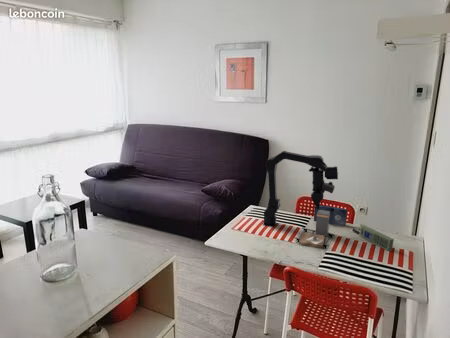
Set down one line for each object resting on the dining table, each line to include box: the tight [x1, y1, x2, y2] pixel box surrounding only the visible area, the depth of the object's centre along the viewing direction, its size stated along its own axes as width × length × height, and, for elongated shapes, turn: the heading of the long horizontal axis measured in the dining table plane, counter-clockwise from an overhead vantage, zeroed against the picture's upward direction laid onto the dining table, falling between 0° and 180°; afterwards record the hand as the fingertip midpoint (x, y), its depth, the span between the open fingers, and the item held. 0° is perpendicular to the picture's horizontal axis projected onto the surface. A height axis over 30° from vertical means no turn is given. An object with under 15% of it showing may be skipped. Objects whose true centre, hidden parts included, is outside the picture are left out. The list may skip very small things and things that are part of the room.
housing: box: [314, 210, 330, 238], centre depth 186 cm, size 6×6×12 cm
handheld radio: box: [352, 223, 395, 252], centre depth 179 cm, size 7×3×25 cm
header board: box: [298, 232, 325, 249], centre depth 178 cm, size 12×12×4 cm
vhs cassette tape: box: [313, 204, 348, 227], centre depth 201 cm, size 18×3×10 cm, turn 65°
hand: (318, 206), depth 188 cm, fingers open, 9 cm apart
